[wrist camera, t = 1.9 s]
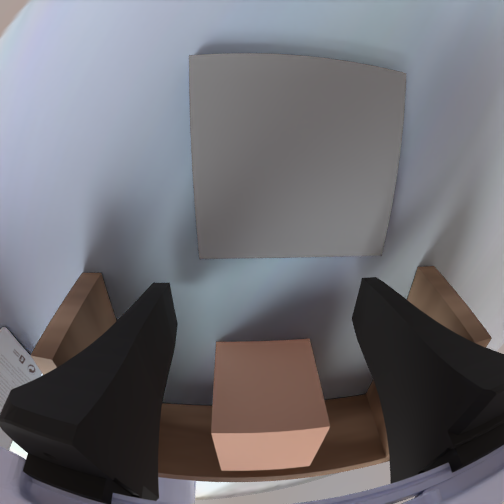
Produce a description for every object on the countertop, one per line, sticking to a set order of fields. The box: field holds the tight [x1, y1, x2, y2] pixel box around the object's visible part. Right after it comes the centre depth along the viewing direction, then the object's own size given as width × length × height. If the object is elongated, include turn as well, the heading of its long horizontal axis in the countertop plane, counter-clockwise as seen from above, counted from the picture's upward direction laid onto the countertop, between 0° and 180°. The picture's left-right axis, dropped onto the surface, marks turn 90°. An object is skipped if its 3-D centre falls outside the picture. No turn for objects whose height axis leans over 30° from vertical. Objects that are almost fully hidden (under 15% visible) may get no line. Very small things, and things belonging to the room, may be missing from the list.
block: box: [211, 339, 330, 471], centre depth 13 cm, size 5×4×5 cm
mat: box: [189, 53, 406, 259], centre depth 9 cm, size 7×7×1 cm
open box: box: [31, 266, 491, 482], centre depth 12 cm, size 11×16×5 cm
